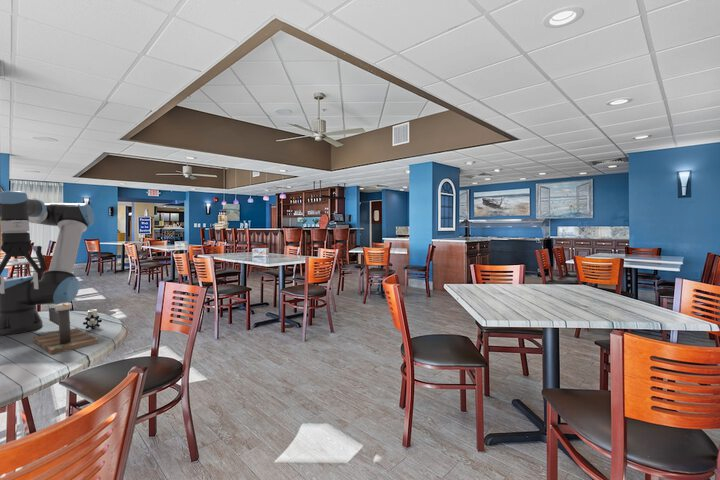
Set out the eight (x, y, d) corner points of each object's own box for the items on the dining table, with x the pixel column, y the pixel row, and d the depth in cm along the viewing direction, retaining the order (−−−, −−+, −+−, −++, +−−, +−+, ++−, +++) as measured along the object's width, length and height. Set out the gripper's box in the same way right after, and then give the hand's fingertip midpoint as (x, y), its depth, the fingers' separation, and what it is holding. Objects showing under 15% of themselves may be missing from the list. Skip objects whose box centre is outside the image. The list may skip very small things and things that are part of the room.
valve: (84, 324, 158) (83, 331, 149) (83, 310, 158) (82, 316, 148) (101, 321, 162) (102, 328, 153) (101, 308, 162) (101, 313, 152)
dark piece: (44, 335, 138) (42, 298, 137) (60, 332, 142) (58, 296, 141) (62, 346, 125) (59, 306, 124) (78, 342, 129) (76, 303, 128)
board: (33, 341, 136) (33, 336, 136) (77, 331, 148) (76, 327, 148) (52, 354, 122) (51, 349, 122) (98, 342, 134) (98, 338, 134)
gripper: (-25, 233, 118) (-20, 297, 119) (55, 231, 136) (59, 287, 137) (-29, 233, 122) (-24, 294, 124) (49, 231, 140) (53, 285, 141)
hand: (19, 290), depth 130 cm, fingers open, 9 cm apart
